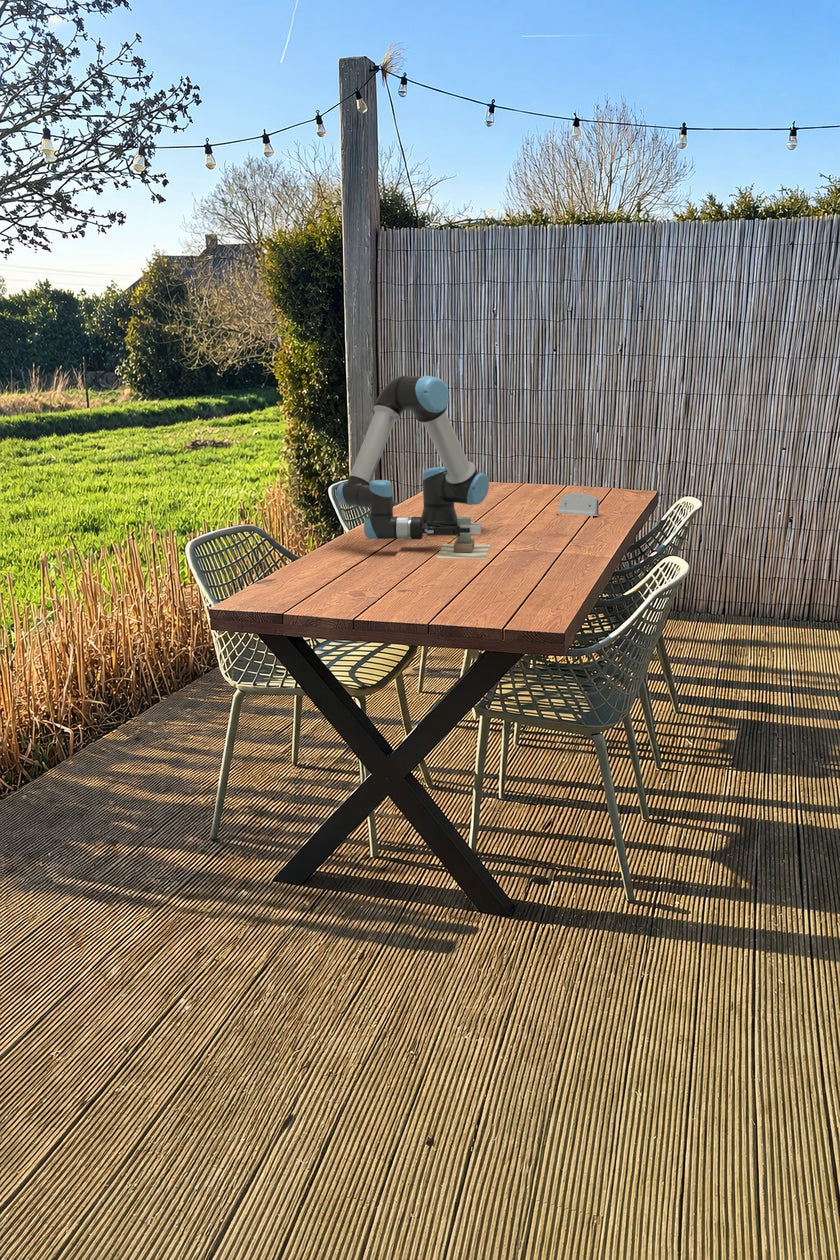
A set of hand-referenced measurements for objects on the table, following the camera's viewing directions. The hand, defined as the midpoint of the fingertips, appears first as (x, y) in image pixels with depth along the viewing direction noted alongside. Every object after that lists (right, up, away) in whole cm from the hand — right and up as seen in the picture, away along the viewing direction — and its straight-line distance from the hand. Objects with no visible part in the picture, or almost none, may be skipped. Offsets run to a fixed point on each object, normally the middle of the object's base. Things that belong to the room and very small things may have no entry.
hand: (480, 528), depth 323 cm
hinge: (+44, +12, +70) cm, 83 cm away
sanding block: (-5, -7, +3) cm, 9 cm away
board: (-5, -9, +1) cm, 10 cm away
